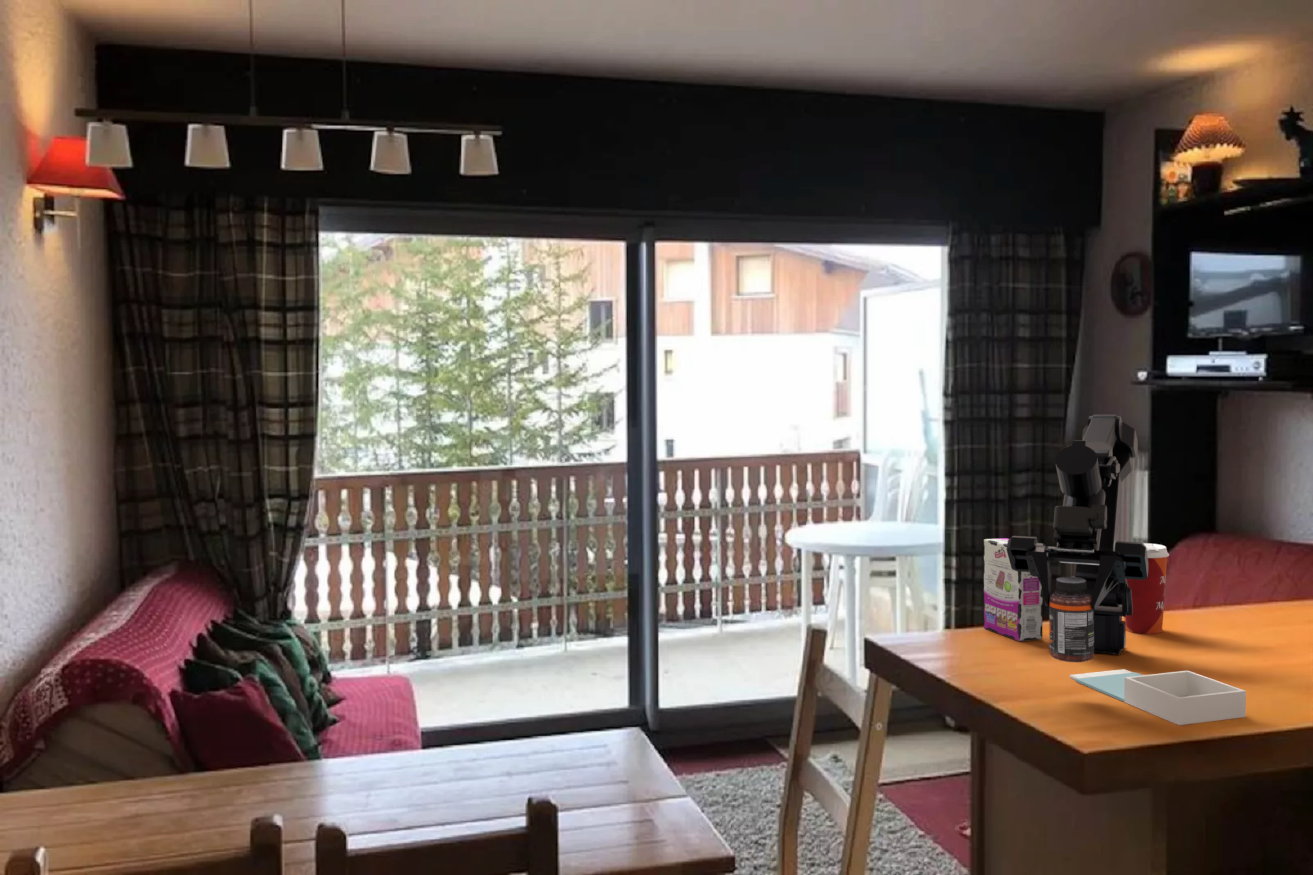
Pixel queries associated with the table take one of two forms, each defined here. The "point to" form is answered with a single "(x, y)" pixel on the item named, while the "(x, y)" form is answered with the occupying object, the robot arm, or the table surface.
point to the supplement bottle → (1071, 621)
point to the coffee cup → (1149, 594)
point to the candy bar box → (1010, 596)
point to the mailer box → (1171, 694)
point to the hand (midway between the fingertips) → (1069, 606)
